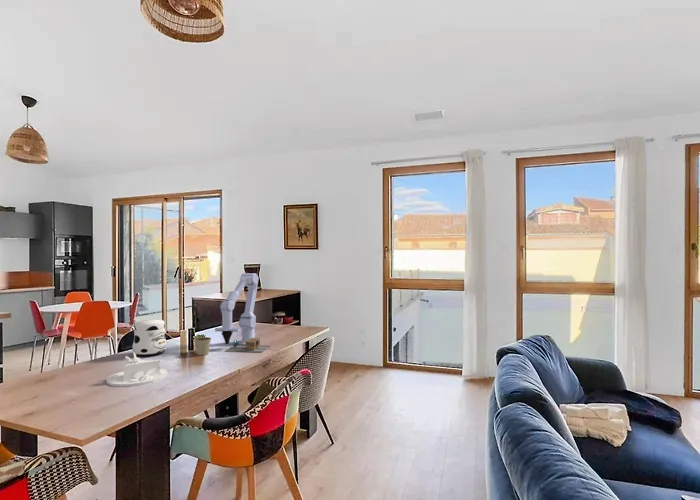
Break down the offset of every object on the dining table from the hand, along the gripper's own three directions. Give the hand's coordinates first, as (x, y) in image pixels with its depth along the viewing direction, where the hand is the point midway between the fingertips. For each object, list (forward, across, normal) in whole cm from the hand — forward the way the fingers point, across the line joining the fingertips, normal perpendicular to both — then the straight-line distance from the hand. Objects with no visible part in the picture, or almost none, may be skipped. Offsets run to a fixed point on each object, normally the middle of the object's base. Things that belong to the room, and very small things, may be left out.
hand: (227, 343), depth 244 cm
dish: (+3, -17, -59) cm, 61 cm away
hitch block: (+3, +13, 0) cm, 13 cm away
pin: (+2, +11, 0) cm, 11 cm away
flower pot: (+3, -8, -15) cm, 17 cm away
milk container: (+3, -38, -18) cm, 42 cm away
